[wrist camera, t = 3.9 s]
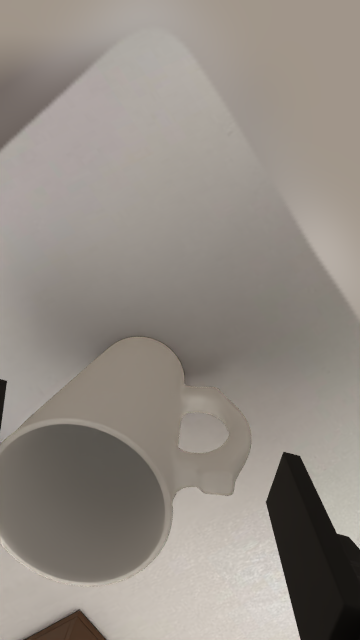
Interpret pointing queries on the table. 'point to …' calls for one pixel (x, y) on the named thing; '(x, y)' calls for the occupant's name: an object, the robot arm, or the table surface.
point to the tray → (69, 630)
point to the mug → (111, 466)
